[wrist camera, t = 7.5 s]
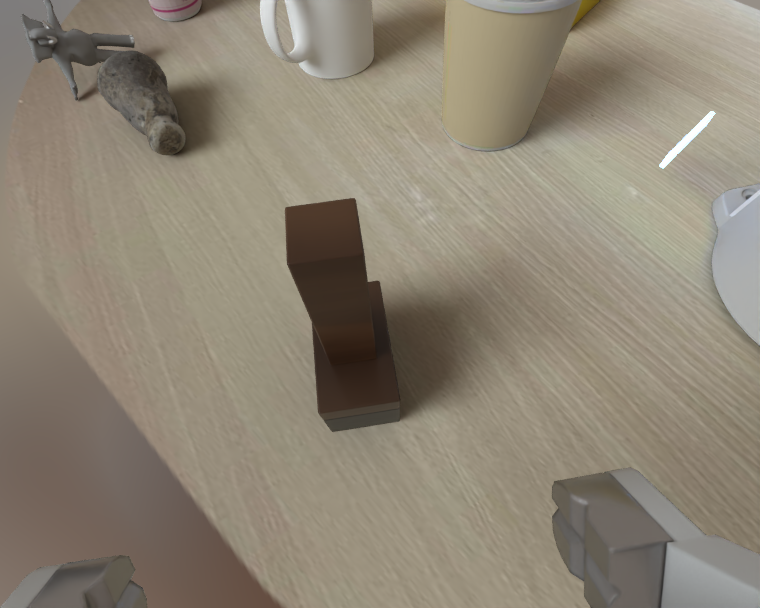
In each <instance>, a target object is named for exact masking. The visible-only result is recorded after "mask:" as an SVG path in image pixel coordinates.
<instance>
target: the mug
mask: <svg viewBox="0 0 760 608" xmlns="http://www.w3.org/2000/svg"><path fill="white" fill-rule="evenodd" d="M277 2H278V0H260V16H261V23H262V28H263V32H264V35H265V38H266V40H267V42H268V44H269V46H270V48H271V49H272V51H273V52H274V53H275V54H276V55H277V56H278V57H279V58H281V59H283V60H285V61H287V62H291V63H299V66H300V67H301V68H302V70H304V71H305V72H306V73H308V74H310V75H312V76H315V77H319V78H326V79H337V78H344V77H349V76H352V75H355V74H357V73H359V72H361V71H363V70H364V69H366V68H367V67H368V66H369V65H370V64H371V62H372V61H373V58H374V40H373V20H372V0H285V3H286V8H287V13H288V17H289V22H290V26H291V31H292V36H293V40H294V45H295V47H294V49H293V50H292V51H291V52H290V53H288V54H287V53H286V51H285V50H284V48H283V46H282V43H281V41H280V38H279V34H278V29H277V21H276V8H277Z"/></svg>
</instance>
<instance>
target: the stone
mask: <svg viewBox="0 0 760 608" xmlns="http://www.w3.org/2000/svg"><path fill="white" fill-rule="evenodd" d="M97 84H98V90H99V92H100V93H101V95H102V96H103V97H104V99H105V100H106V101H107V102H108V103H109V104H110V105H111V106H112V107H113V108H114V109H116V110H118V111H120V113H121V114H122V115H123V116H124V118H125V119H126V120H127V121H128V122H130V123H131V124H132V126H133V127H135V128H136V129H137V130H138V131H140V132H141V133H143V134H145V135H147V137H148V141H149V144H150V146H151V148H152V150H153V151H155V152H157V153H159V154H162V155H172V154H175V153H177V152H179V151H180V150H181V149H182V148H183V146H184V144H185V133H184V131H183V129H182V128H181V127H180V126H179V125H178V113H177V110H176V107H175V105H174V103H173V101H172V100H171V97H170V95H169V92H168V87H167V80H166V76H165V74H164V72H163V71H162V70H161V68H160V67H159V65H158V64H157V63H156V62H155V61H154V60H153V59H151V58H150V57H148V56H147V55H145V54H143V53H140V52H138V51H124V52H120V53H117V54H114V55H113V56H111V57H109V58H108V59H107V60H106V61H105V62H104V63H103V64H102V66H101V67H100V69H99V71H98V78H97Z"/></svg>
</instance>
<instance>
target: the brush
mask: <svg viewBox="0 0 760 608" xmlns="http://www.w3.org/2000/svg"><path fill="white" fill-rule="evenodd" d="M285 223H286V250H287V265H288V268H289V270H290V272H291V274H292V277H293V279H294V281H295V284H296V286H297V288H298V291H299V293H300V295H301V298H302V300H303V302H304V305H305V307H306V309H307V312H308V314H309V316H310V319H311V321H312V331H313V346H314V360H315V375H316V389H317V404H318V413H319V415H320V416H321V417H322V419H323V420H324V422H325V423H326V424H327V426H328V427H329V428H330V430H331V431H332V432H335V431H341V430H347V429H354V428H360V427H366V426H373V425H379V424H385V423H391V422H398V421H400V396H399V390H398V384H397V378H396V373H395V367H394V361H393V355H392V350H391V344H390V338H389V332H388V327H387V321H386V315H385V309H384V303H383V298H382V292H381V286H380V282H379V281H372V282H368V280H367V272H366V264H365V256H364V249H363V243H362V236H361V230H360V223H359V217H358V211H357V204H356V200H355V198H350V199H343V200H335V201H328V202H321V203H313V204H306V205H299V206H291V207H286V208H285Z"/></svg>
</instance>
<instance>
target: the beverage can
mask: <svg viewBox="0 0 760 608" xmlns="http://www.w3.org/2000/svg"><path fill="white" fill-rule="evenodd" d="M148 1H149V3H150V5H151V8H152V10H153V12H154V14H155V15H156V16H158V17H160V18H161V19H163V20H166V21H180V20H184V19H188V18H190V17H192V16H194V15H195V14H197V13H198V12H199V10H200V7H201V4H202V1H201V0H148Z"/></svg>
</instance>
